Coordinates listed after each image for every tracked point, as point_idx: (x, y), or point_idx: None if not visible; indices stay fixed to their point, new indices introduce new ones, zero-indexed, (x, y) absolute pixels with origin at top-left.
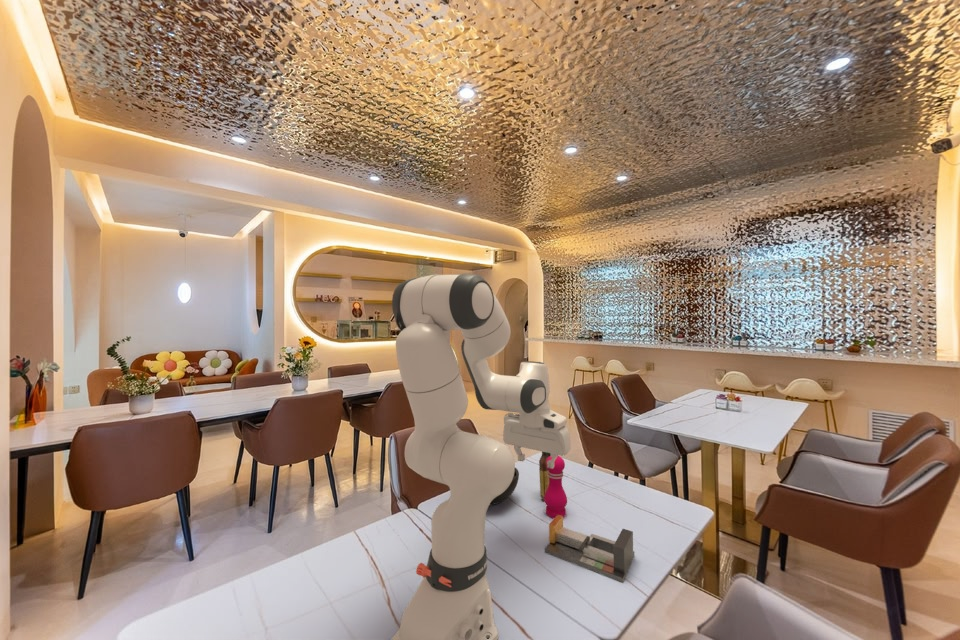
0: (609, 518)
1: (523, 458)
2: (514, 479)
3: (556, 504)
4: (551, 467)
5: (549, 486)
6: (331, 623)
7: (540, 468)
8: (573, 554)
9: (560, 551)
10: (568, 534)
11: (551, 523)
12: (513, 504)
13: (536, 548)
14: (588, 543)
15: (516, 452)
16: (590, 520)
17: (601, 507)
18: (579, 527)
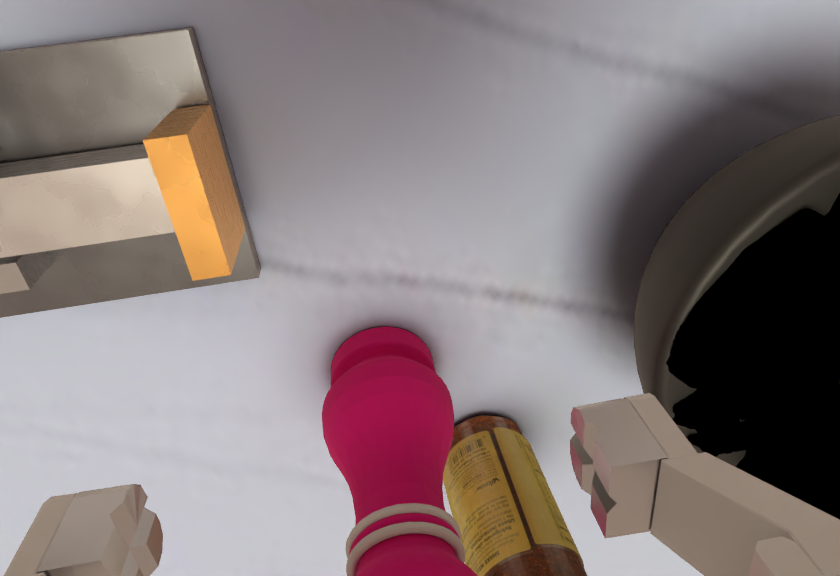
0: (170, 482)
1: (585, 462)
2: (658, 368)
3: (349, 381)
4: (45, 506)
5: (420, 453)
6: None
7: (566, 556)
8: (30, 100)
9: (103, 72)
10: (103, 188)
11: (182, 156)
12: (607, 296)
13: (256, 27)
14: None
15: (745, 480)
16: (220, 422)
17: (252, 523)
18: (219, 346)
